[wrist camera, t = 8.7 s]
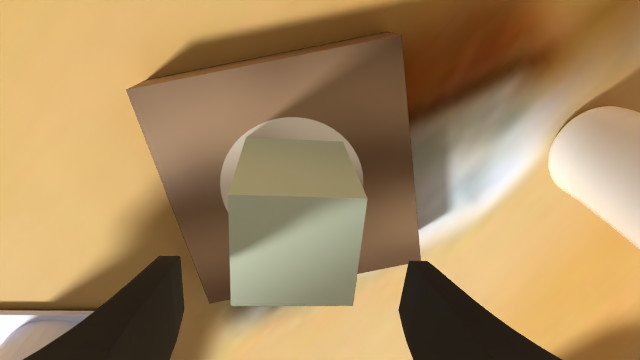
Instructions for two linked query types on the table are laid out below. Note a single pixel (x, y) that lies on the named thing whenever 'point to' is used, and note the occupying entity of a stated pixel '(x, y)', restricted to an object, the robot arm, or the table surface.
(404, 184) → the plinth
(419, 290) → the robot arm
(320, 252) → the block
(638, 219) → the drinking glass
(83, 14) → the table surface
